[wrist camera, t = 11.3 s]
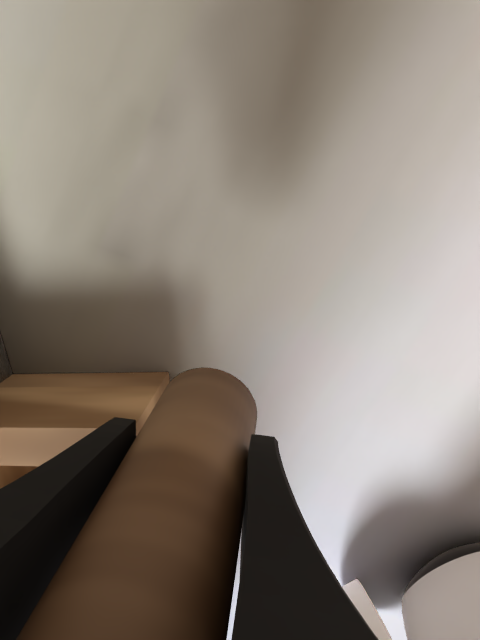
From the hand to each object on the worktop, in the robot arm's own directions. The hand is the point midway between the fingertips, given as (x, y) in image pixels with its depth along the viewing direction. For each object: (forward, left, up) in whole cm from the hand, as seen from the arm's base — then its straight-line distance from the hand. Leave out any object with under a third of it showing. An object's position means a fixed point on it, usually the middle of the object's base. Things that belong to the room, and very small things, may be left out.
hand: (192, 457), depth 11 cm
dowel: (0, 0, -2) cm, 2 cm away
